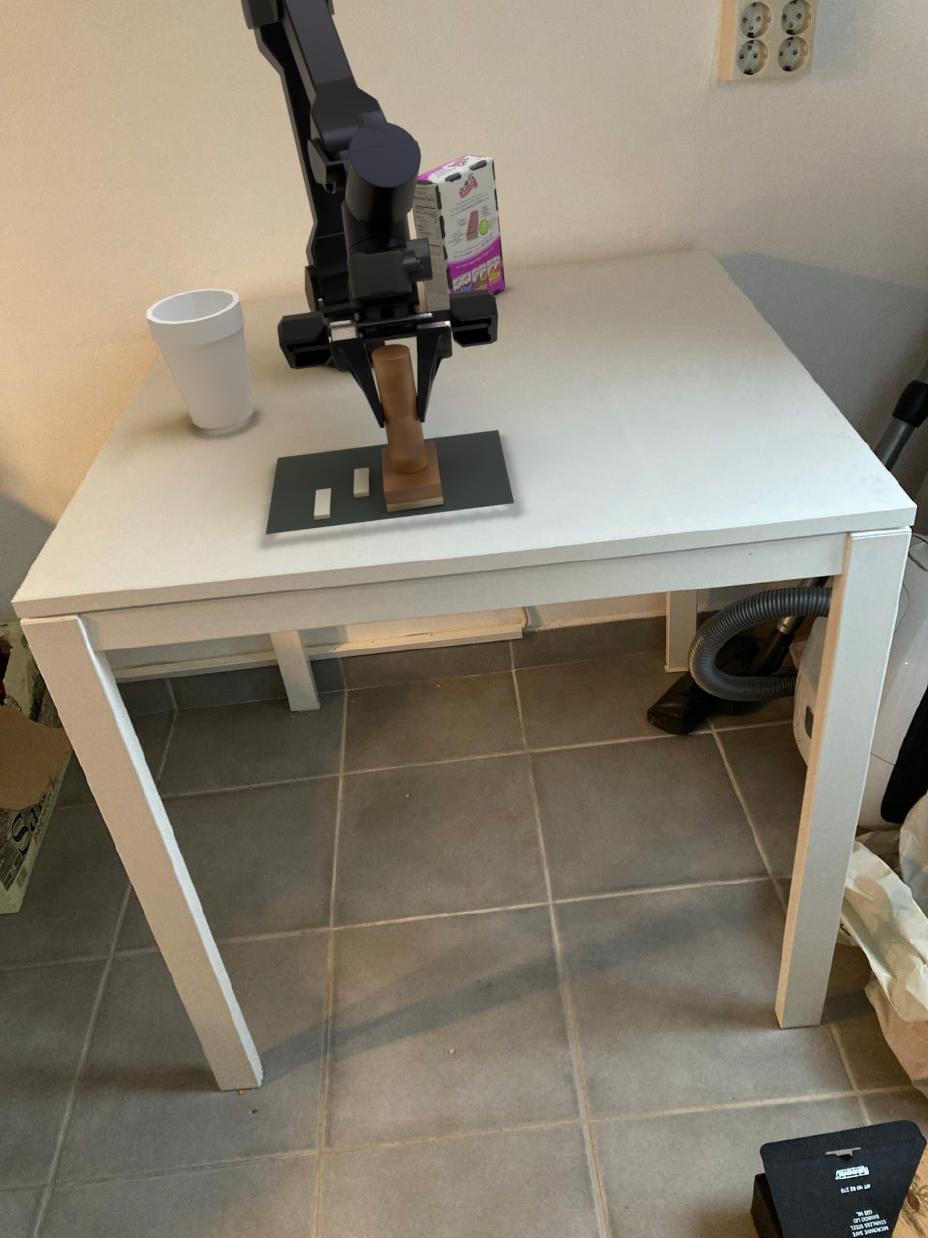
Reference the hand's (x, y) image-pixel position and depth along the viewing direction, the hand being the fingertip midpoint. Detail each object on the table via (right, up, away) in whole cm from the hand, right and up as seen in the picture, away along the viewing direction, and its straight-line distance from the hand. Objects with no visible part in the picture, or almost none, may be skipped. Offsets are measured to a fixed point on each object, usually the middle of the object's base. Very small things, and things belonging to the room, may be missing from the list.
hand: (401, 423), depth 85 cm
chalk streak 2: (-4, -4, +7) cm, 9 cm away
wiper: (+1, -5, +5) cm, 7 cm away
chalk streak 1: (-7, -7, +4) cm, 11 cm away
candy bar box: (+6, +25, +44) cm, 50 cm away
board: (-2, -5, +8) cm, 9 cm away
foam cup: (-21, +4, +22) cm, 31 cm away
